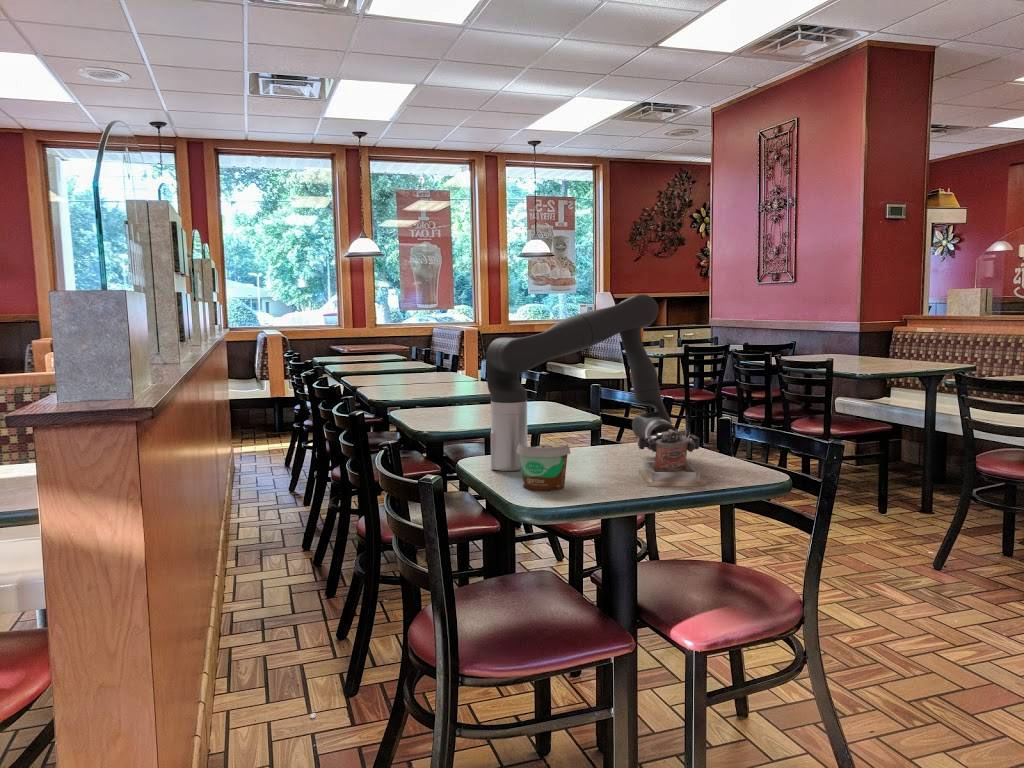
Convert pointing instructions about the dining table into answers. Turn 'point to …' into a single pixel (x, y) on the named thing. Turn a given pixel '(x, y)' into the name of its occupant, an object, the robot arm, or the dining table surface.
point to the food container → (543, 467)
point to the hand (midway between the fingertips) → (673, 447)
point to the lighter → (671, 451)
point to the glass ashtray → (670, 476)
